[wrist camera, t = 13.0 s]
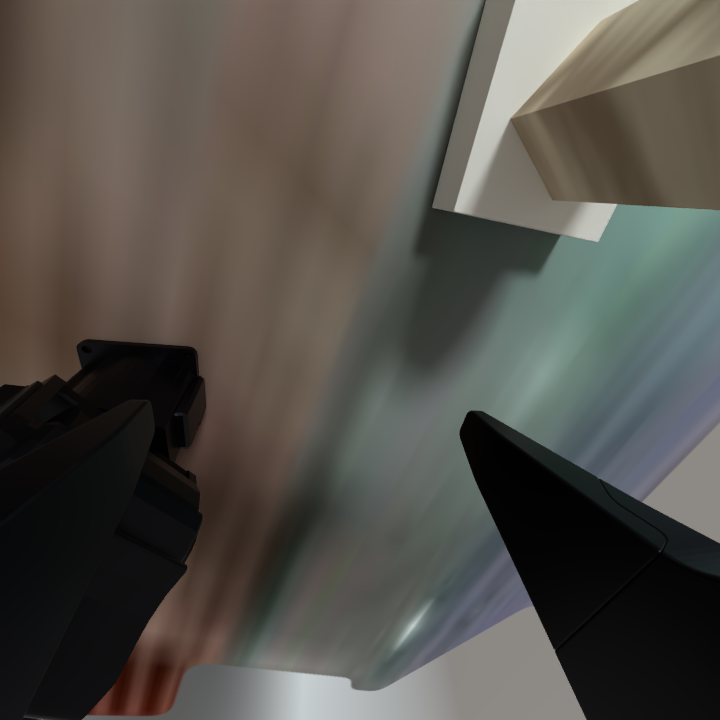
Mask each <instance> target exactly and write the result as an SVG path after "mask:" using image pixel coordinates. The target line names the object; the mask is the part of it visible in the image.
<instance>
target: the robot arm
mask: <svg viewBox="0 0 720 720" xmlns="http://www.w3.org/2000/svg"><path fill="white" fill-rule="evenodd" d="M85 346H88V347H90V348H91V350H88V349H87V348H86V347H85ZM77 352H78V356H79V360H80V363H81V367H82V369H81V370H80V371H79V372H78V373H77V374H75V375H74V376H73V377H72V378H71V379H70V380H69V381H67V382H65V381H64V380H62V379H61V378H60V377H58V376H57V375H53V376H51V377H50V378H48V379H47V380H45V381H43V382H42V383H41V382H39V381H36V382H35V383H33V384H31V385H30V386H29V385H27V386H26V387H25V386H16V385H7V384H5V385H3V386H1V387H0V720H41V719H43V720H82V719H83V718H84V717H85V716H86V715H87V714H88V713H89V712H90V711H91V710H92V709H93V708H94V706H95V705H96V704H97V703H98V702H99V701H100V700H101V699H102V698H103V697H104V695H105V694H106V693H107V692H108V691H109V690H110V689H111V688H112V686H113V685H114V684H115V683H116V681H117V679H118V677H119V676H120V674H121V672H122V670H123V668H124V666H125V664H126V662H127V660H128V658H129V656H130V655H131V653H132V651H133V649H134V647H135V645H136V643H137V641H138V639H139V637H140V636H141V634H142V632H143V630H144V629H145V627H146V625H147V623H148V622H149V620H150V618H151V617H152V615H153V614H154V612H155V611H156V609H157V608H158V606H159V605H160V603H161V602H162V601H163V599H164V598H165V596H166V595H167V593H168V592H169V591H170V590H171V589H172V588H173V586H174V585H175V584H176V583H177V582H178V580H179V579H180V578H181V577H182V576H183V575H184V573H185V572H186V570H187V565H186V564H184V563H185V561H186V560H187V558H188V556H189V554H190V553H191V551H192V548H193V546H194V544H195V541H196V538H197V534H198V531H199V528H200V525H201V523H202V513H200V512H199V511H198V509H199V499H200V492H199V490H198V488H197V485H196V476H195V475H194V474H193V473H191V472H190V471H185V470H184V469H182V468H181V467H180V466H178V465H177V464H175V463H174V462H175V460H176V457H177V455H178V453H179V450H180V449H187V448H188V447H189V446H191V444H192V441H193V439H194V436H195V434H196V431H197V429H198V426H199V425H200V423H201V420H202V416H203V413H204V411H205V408H206V402H205V386H204V379H203V378H202V377H201V376H199V371H198V356H197V351H196V350H195V349H194V348H192V347H189V346H175V345H160V344H146V343H132V342H118V341H104V340H90V339H87V340H83V341H82V342H80V343H79V344H78V345H77ZM185 353H190V354H191V356H190V357H189V356H186V355H185ZM460 439H461V442H462V445H463V447H464V450H465V453H466V456H467V459H468V462H469V464H470V467H471V470H472V473H473V475H474V478H475V481H476V483H477V485H478V488H479V490H480V492H481V494H482V496H483V498H484V500H485V503H486V505H487V507H488V509H489V511H490V513H491V515H492V518H493V520H494V522H495V524H496V526H497V528H498V530H499V532H500V535H501V537H502V539H503V541H504V543H505V545H506V547H507V550H508V552H509V554H510V556H511V558H512V560H513V562H514V565H515V567H516V569H517V571H518V573H519V575H520V577H521V580H522V582H523V584H524V586H525V588H526V590H527V592H528V595H529V597H530V599H531V601H532V603H533V605H534V607H535V610H536V612H537V614H538V616H539V618H540V620H541V622H542V625H543V627H544V629H545V631H546V633H547V635H548V637H549V640H550V642H551V644H552V646H553V648H554V649H555V653H556V655H557V657H558V659H559V661H560V663H561V666H562V668H563V670H564V672H565V674H566V677H567V679H568V681H569V683H570V685H571V687H572V689H573V691H574V694H575V696H576V698H577V700H578V702H579V704H580V707H581V708H582V711H583V713H584V715H585V717H586V719H587V720H720V543H718V542H716V541H714V540H712V539H710V538H708V537H706V536H705V535H703V534H701V533H699V532H697V531H695V530H693V529H691V528H689V527H687V526H685V525H683V524H682V523H680V522H678V521H676V520H674V519H672V518H670V517H668V516H666V515H664V514H663V513H661V512H659V511H657V510H655V509H653V508H651V507H650V506H647V505H646V504H644V503H642V502H640V501H638V500H637V499H635V498H633V497H631V496H629V495H628V494H626V493H624V492H622V491H621V490H619V489H617V488H615V487H613V486H612V485H610V484H608V483H606V482H605V481H603V480H601V479H598V478H597V477H596V476H594V475H592V474H591V473H589V472H587V471H585V470H584V469H582V468H580V467H579V466H577V465H575V464H573V463H572V462H570V461H568V460H566V459H565V458H563V457H561V456H559V455H558V454H556V453H554V452H552V451H551V450H549V449H547V448H546V447H544V446H542V445H540V444H539V443H537V442H535V441H533V440H532V439H530V438H528V437H526V436H525V435H523V434H521V433H519V432H518V431H516V430H514V429H512V428H511V427H509V426H507V425H506V424H504V423H502V422H500V421H499V420H497V419H495V418H493V417H492V416H490V415H488V414H486V413H485V412H483V411H469V412H468V413H467V415H466V417H465V419H464V422H463V424H462V426H461V429H460Z"/></svg>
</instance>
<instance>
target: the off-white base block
mask: <svg viewBox="0 0 720 720" xmlns="http://www.w3.org/2000/svg"><path fill="white" fill-rule="evenodd" d="M637 1H639V0H486V2H485V6H484V10H483V14H482V18H481V22H480V25H479V29H478V33H477V37H476V41H475V45H474V48H473V52H472V56H471V60H470V64H469V68H468V71H467V75H466V79H465V83H464V87H463V91H462V94H461V98H460V102H459V106H458V110H457V114H456V117H455V121H454V125H453V129H452V133H451V136H450V140H449V144H448V148H447V152H446V156H445V159H444V163H443V167H442V171H441V175H440V179H439V182H438V186H437V190H436V194H435V198H434V202H433V205H432V208H436V209H440V210H445V211H450V212H454V213H459V214H464V215H469V216H473V217H478V218H483V219H487V220H492V221H497V222H502V223H506V224H511V225H516V226H520V227H525V228H530V229H535V230H539V231H544V232H549V233H553V234H558V235H563V236H568V237H574V238H579V239H585V240H590V241H595V242H598V241H599V239H600V237H601V235H602V233H603V231H604V229H605V227H606V225H607V223H608V221H609V219H610V218H611V216H612V214H613V212H614V210H615V208H616V206H617V204H608V203H590V202H573V201H556V200H552V198H551V196H550V195H549V193H548V191H547V189H546V187H545V185H544V183H543V181H542V179H541V177H540V175H539V173H538V172H537V170H536V168H535V166H534V164H533V162H532V160H531V158H530V156H529V154H528V152H527V150H526V149H525V147H524V145H523V143H522V141H521V139H520V137H519V135H518V133H517V131H516V129H515V127H514V126H513V124H512V122H511V120H510V118H511V117H512V116H513V115H514V114H515V113H516V112H517V111H518V110H519V109H520V108H521V107H522V105H523V104H524V103H525V102H526V101H527V100H528V99H529V98H530V97H531V96H532V95H533V94H534V92H535V91H536V90H537V89H538V88H539V87H540V86H541V85H542V84H543V83H544V82H545V81H546V79H547V78H548V77H549V76H550V75H551V74H552V73H553V72H554V71H555V70H556V69H557V68H558V66H559V65H560V64H561V63H562V62H563V61H564V60H565V59H566V58H567V57H568V56H569V55H570V53H571V52H572V51H573V50H574V49H575V48H576V47H577V46H578V45H579V44H580V43H581V42H582V40H583V39H584V38H585V37H586V36H587V35H588V34H589V33H590V32H591V31H592V30H593V29H594V27H595V26H596V25H597V24H598V23H599V22H600V21H601V20H603V19H605V18H607V17H609V16H610V15H612V14H614V13H616V12H618V11H620V10H622V9H624V8H625V7H627V6H629V5H631V4H633V3H635V2H637Z"/></svg>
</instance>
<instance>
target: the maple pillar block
mask: <svg viewBox="0 0 720 720" xmlns="http://www.w3.org/2000/svg"><path fill="white" fill-rule="evenodd" d="M510 120H511V122H512V124H513V126H514V127H515V129H516V131H517V133H518V135H519V137H520V139H521V141H522V143H523V145H524V147H525V149H526V150H527V152H528V154H529V156H530V158H531V160H532V162H533V164H534V166H535V168H536V170H537V172H538V173H539V175H540V177H541V179H542V181H543V183H544V185H545V187H546V189H547V191H548V193H549V195H550V196H551V198H552V200H556V201H573V202H590V203H608V204H625V205H642V206H660V207H677V208H694V209H712V210H720V0H639V1H637V2H635V3H633V4H631V5H629V6H627V7H625V8H624V9H622V10H620V11H618V12H616V13H614V14H612V15H610V16H609V17H607V18H605V19H603V20H601V21H600V22H599V23H598V24H597V25H596V26H595V27H594V29H593V30H592V31H591V32H590V33H589V34H588V35H587V36H586V37H585V38H584V39H583V40H582V42H581V43H580V44H579V45H578V46H577V47H576V48H575V49H574V50H573V51H572V52H571V53H570V55H569V56H568V57H567V58H566V59H565V60H564V61H563V62H562V63H561V64H560V65H559V66H558V68H557V69H556V70H555V71H554V72H553V73H552V74H551V75H550V76H549V77H548V78H547V79H546V81H545V82H544V83H543V84H542V85H541V86H540V87H539V88H538V89H537V90H536V91H535V92H534V94H533V95H532V96H531V97H530V98H529V99H528V100H527V101H526V102H525V103H524V104H523V105H522V107H521V108H520V109H519V110H518V111H517V112H516V113H515V114H514V115H513V116H512V117H511V118H510Z"/></svg>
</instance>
